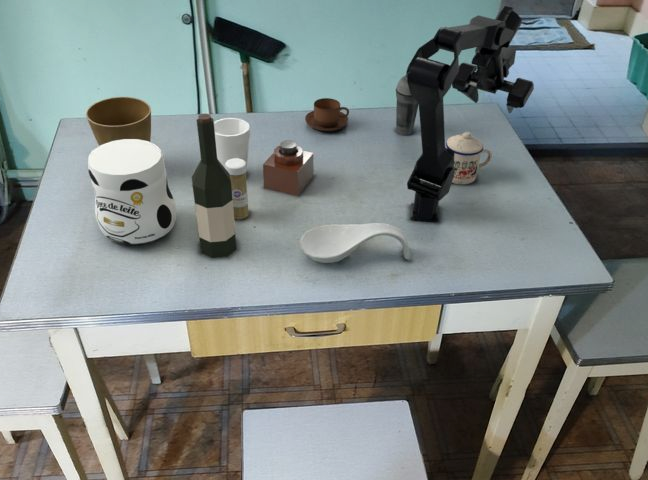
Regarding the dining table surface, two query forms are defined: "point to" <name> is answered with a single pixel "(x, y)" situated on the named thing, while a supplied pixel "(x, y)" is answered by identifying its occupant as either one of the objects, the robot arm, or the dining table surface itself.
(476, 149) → the teacup with lid
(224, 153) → the foam cup
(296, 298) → the dining table surface
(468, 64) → the robot arm
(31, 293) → the dining table surface
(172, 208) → the milk container
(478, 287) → the dining table surface
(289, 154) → the dark grey short cylinder
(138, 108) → the plant pot
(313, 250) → the spoon rest
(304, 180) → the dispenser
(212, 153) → the wine bottle
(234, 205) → the sprinkles bottle
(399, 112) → the beverage cup
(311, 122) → the cup and saucer
